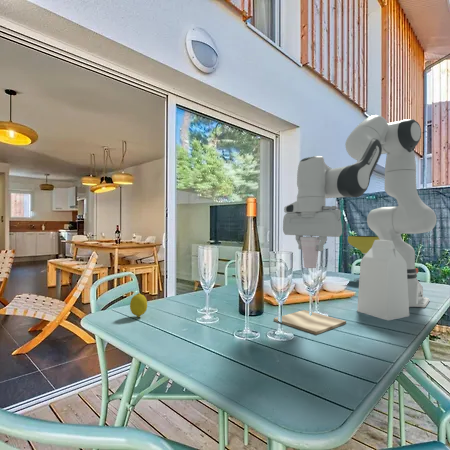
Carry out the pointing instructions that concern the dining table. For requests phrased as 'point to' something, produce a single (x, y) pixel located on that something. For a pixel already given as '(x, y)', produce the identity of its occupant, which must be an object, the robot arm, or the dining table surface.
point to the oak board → (311, 321)
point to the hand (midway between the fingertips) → (310, 250)
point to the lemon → (138, 305)
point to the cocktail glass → (362, 243)
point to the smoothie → (309, 251)
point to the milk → (383, 282)
